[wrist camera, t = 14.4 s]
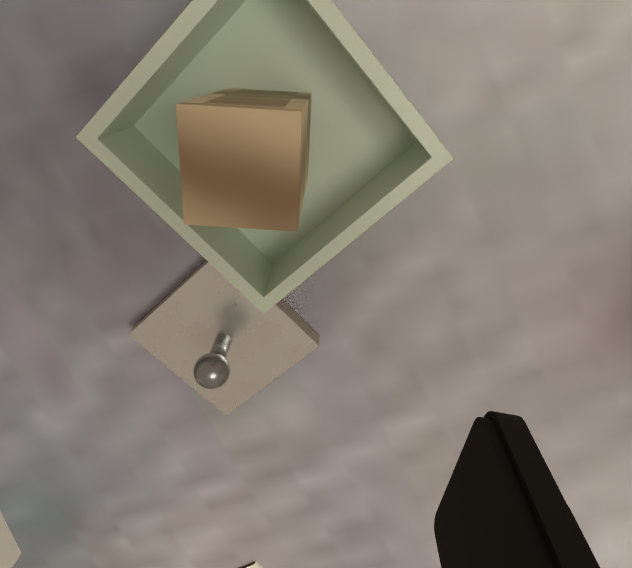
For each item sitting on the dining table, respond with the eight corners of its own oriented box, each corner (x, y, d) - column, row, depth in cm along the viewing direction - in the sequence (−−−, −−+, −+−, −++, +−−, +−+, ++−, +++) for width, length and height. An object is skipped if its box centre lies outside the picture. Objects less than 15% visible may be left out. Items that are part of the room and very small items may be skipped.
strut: (228, 88, 29) (175, 103, 19) (311, 93, 29) (301, 111, 19) (230, 171, 31) (183, 224, 21) (308, 176, 31) (297, 231, 21)
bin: (278, -56, 26) (265, -86, 21) (432, 140, 31) (453, 158, 25) (120, 123, 31) (75, 137, 25) (274, 273, 35) (263, 313, 29)
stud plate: (224, 243, 34) (202, 282, 28) (319, 335, 37) (317, 388, 31) (135, 324, 37) (98, 375, 31) (229, 403, 40) (212, 463, 34)
